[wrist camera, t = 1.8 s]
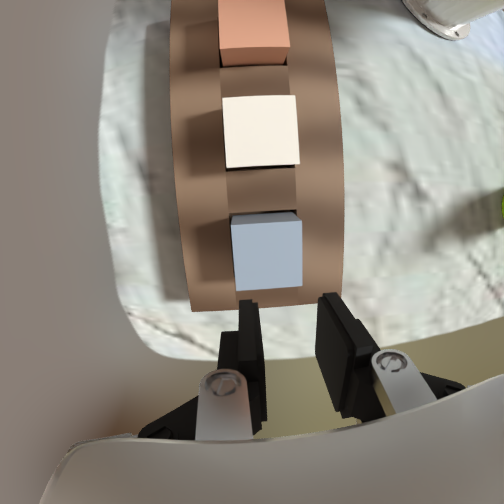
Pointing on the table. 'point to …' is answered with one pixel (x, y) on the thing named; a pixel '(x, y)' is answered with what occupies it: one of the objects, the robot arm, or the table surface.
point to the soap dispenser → (503, 206)
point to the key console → (255, 177)
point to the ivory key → (260, 130)
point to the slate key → (267, 250)
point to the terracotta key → (253, 32)
